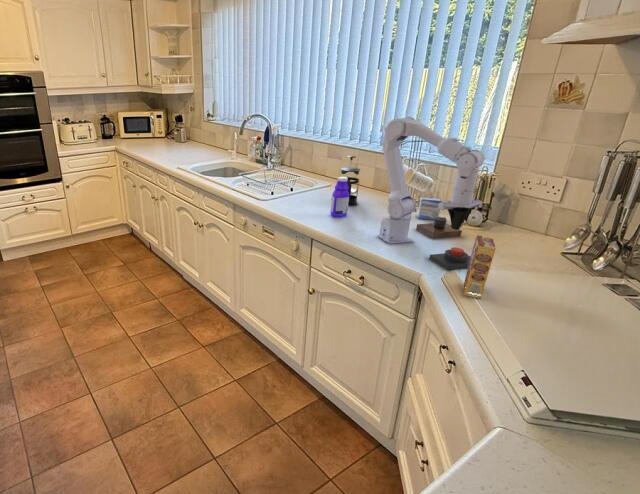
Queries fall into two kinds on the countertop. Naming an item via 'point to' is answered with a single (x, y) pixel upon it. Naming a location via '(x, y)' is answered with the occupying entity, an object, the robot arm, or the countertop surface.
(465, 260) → the switch block
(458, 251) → the switch button
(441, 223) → the dimmer knob
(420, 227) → the panel
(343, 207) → the bottle
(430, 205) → the medicine box
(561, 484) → the countertop surface
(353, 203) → the french press
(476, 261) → the candy box
